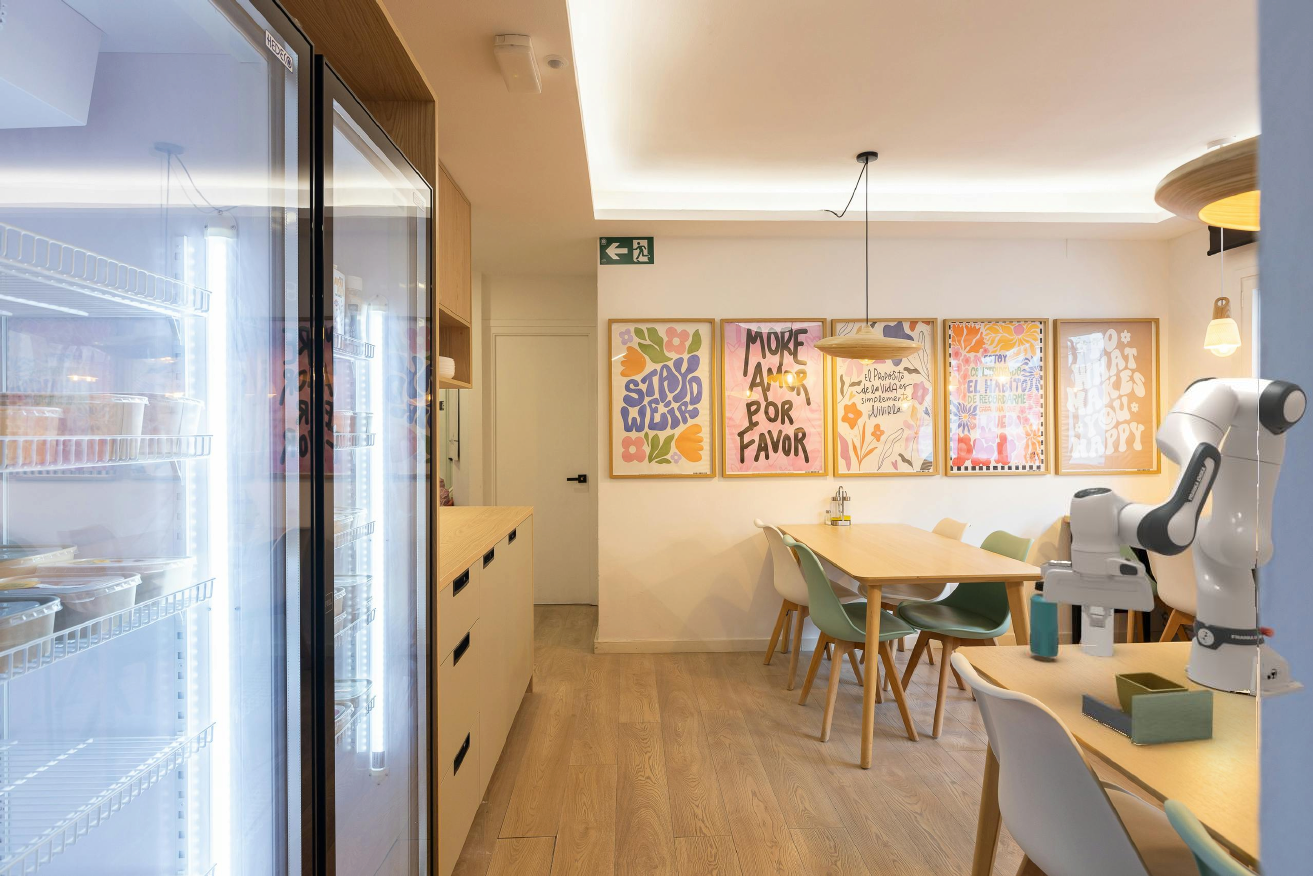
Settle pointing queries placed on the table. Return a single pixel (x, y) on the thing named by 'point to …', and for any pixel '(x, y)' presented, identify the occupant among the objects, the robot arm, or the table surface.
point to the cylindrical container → (1097, 634)
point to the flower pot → (1143, 687)
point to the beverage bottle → (1043, 625)
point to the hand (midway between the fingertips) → (1097, 626)
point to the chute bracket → (1158, 716)
